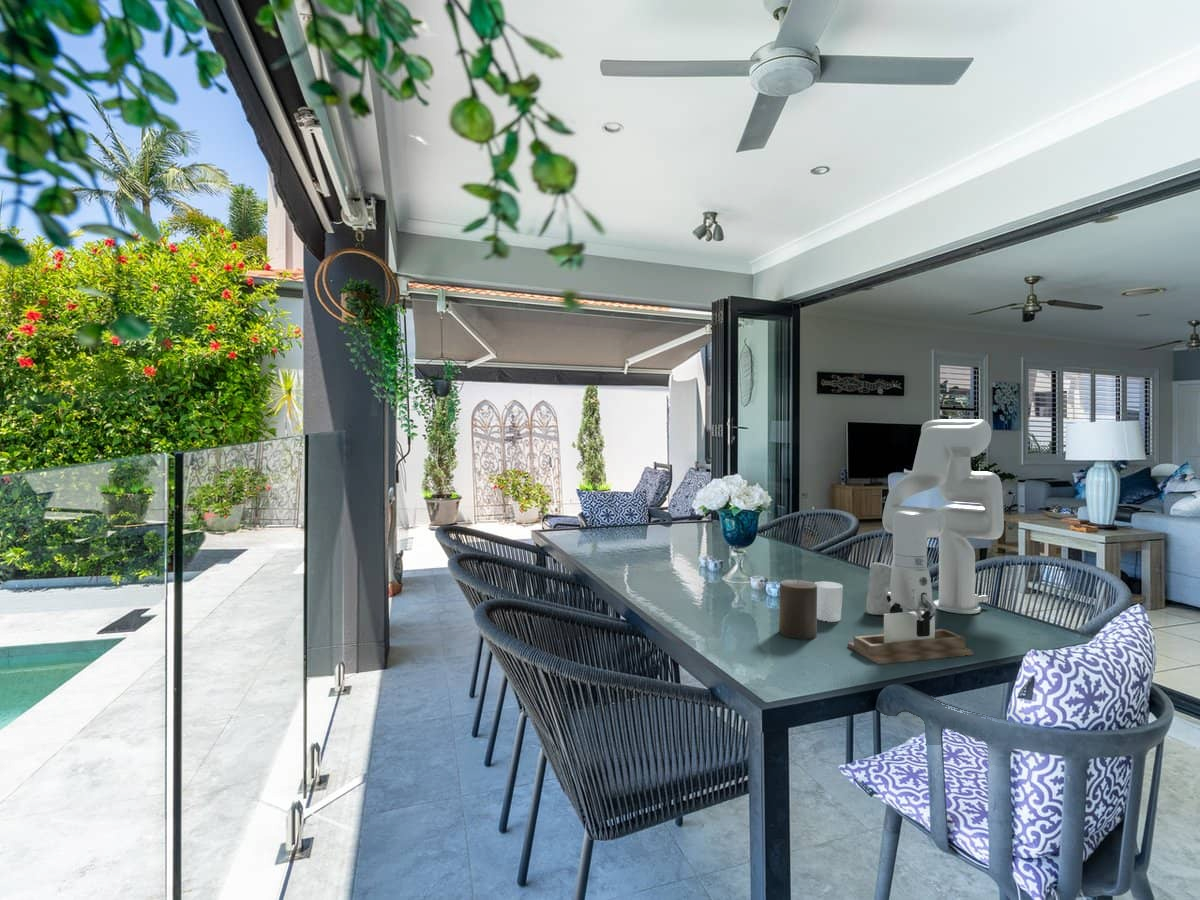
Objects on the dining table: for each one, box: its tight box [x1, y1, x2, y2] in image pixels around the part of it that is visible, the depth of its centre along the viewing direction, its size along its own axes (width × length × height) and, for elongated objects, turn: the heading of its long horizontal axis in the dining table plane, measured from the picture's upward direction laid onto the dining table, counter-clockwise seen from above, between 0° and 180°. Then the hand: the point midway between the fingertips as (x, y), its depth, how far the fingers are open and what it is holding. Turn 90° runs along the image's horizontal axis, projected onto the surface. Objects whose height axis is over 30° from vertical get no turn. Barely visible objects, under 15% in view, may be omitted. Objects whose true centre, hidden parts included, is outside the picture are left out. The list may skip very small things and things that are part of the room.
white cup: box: [814, 580, 844, 623], centre depth 180 cm, size 8×8×10 cm
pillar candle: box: [778, 578, 818, 640], centre depth 168 cm, size 10×10×15 cm
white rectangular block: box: [883, 610, 936, 643], centre depth 154 cm, size 12×3×8 cm, turn 101°
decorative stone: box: [866, 562, 908, 616], centre depth 184 cm, size 11×6×15 cm, turn 71°
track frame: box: [847, 628, 974, 665], centre depth 154 cm, size 26×12×3 cm, turn 101°
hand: (909, 629), depth 154 cm, fingers open, 9 cm apart
